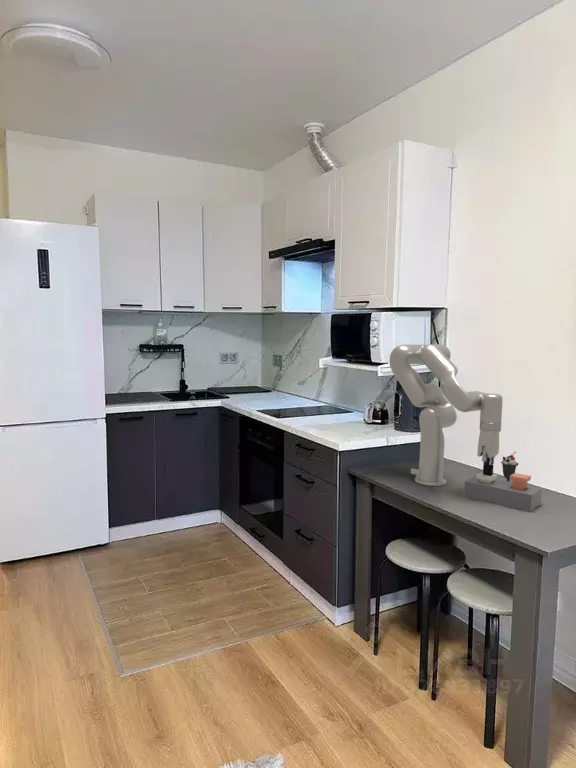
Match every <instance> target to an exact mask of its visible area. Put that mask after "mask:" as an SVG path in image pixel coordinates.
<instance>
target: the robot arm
mask: <svg viewBox="0 0 576 768" xmlns="http://www.w3.org/2000/svg"><path fill="white" fill-rule="evenodd" d="M412 365H425V366H426V368H427V369H428V370H429V371H430V372H431V373H432V375H433V376H434V377H435V378H436V379H437V380H438V382H439V383H440V386H438V385H437V384H434V383H426V382H424V381H423V379H422V378H421V376H420V374H419V373H418V371H416V370H415V369H414V368H413V367H412ZM389 368H390V370H391V372H392V374H393V375H394V377H395V379H397V381H398V382H399V384H400V385H401V387H402V389H403V391H404V393H405V394H406V395H407V398H408V399H409V401H410V402H411V404H412V405H413V406H414V407H416V408H424V409H422V410H421V412H420V413H419V416H418V418H419V419H418V421H419V429H420V431H419V432H420V447H419V462H418V463H419V464H418V465H419V466H418V469H417V468H411V469H410V474H411V475H415V477H414V481H415V483H417V484H419V485H423V486H427V487H443V486H445V485H446V484H447V479H445V478H443V477H444V476H443V475H444V473H443V472H444V460H445V459H444V456H445V435H444V432H443V429H444V428H445V429H446V428H450V427H451V426H453V425H455V424H456V421H457V415H458V414H457V412H456V410H458V411H459V412H462V413H469V412H475V411H477V412H478V411H480V413H479V430H480V432H479V435H478V444H477V451H476V452H477V457H479V458H480V457H481V461H482V464H483V465H482V467H483V468H482V472H483V474H484V475H489V476H491V475H493V474H494V464H495V458H496V456H498V454H499V452H500V432H501V431H502V418H503V417H502V415H503V399H504V398H503V396H502V395H501V394H499V393H489V392H488V393H486V392H483V391H478V390H475V391H473V390H472V391H465V390H464V388H463V387H462V386H461V385H460V384H459V383H458V381H457V379H456V376H457V375H458V370H459V369H458V368H457V366H456V365H455V364H454V363H453V362H452V361H451V351H450V349H449V348H448V347H447V346H446V345H445V344H441V343H440V344H438V343H435V344H434V343H431V344H400V345H397V346H395V347H394V348H393V349H392V351H391V352H390V354H389Z"/></svg>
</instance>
